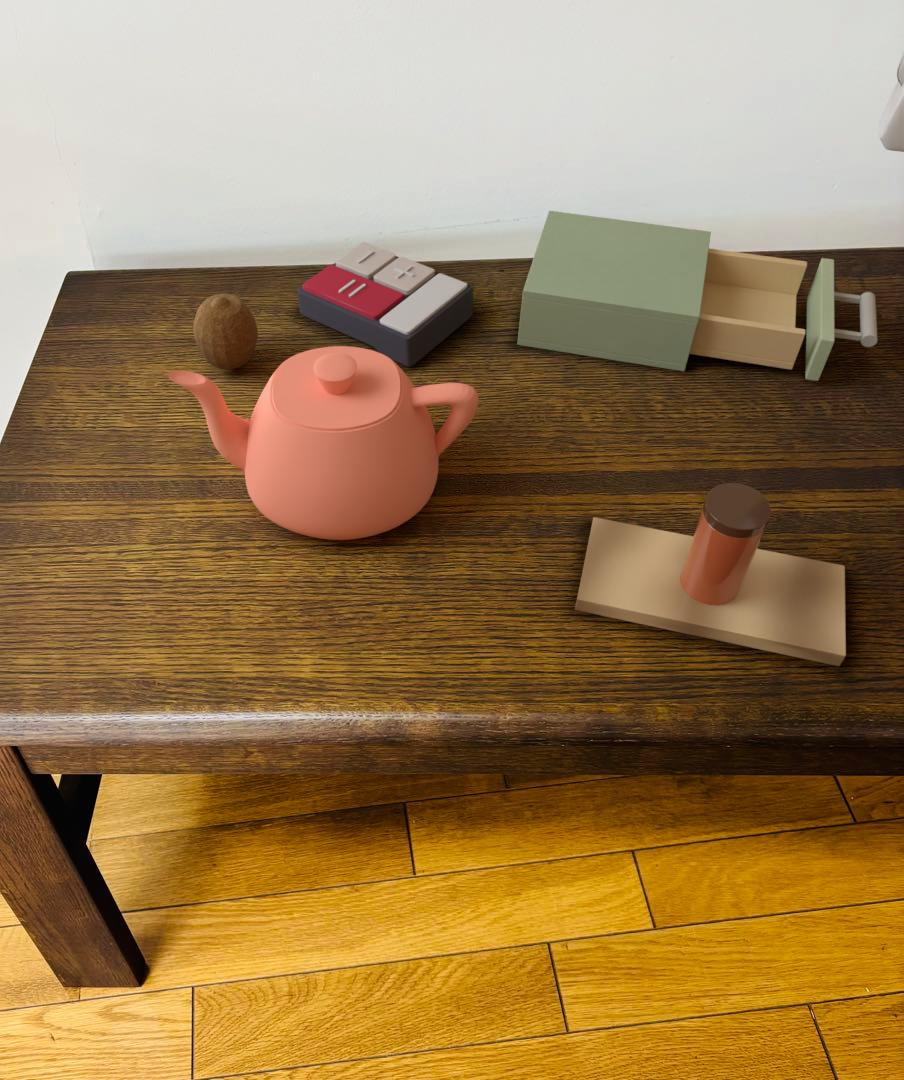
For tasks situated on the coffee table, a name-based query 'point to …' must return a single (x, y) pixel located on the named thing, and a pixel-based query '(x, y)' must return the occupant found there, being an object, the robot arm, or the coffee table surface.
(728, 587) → the spice jar
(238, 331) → the fruit
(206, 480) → the coffee table surface
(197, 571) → the coffee table surface
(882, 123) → the robot arm
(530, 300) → the cabinet
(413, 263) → the calculator
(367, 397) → the teapot
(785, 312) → the drawer
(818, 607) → the board
